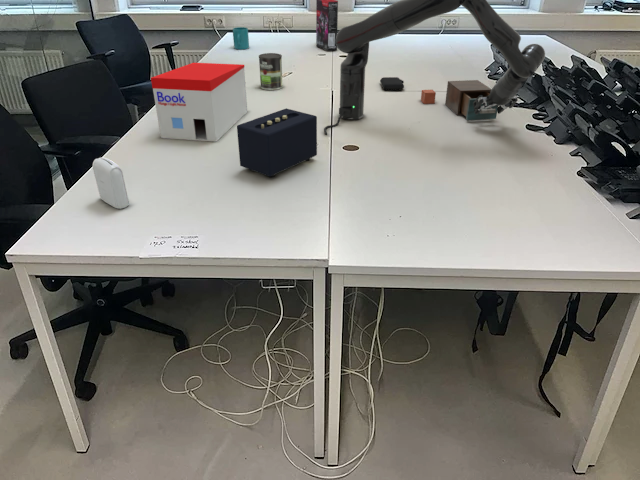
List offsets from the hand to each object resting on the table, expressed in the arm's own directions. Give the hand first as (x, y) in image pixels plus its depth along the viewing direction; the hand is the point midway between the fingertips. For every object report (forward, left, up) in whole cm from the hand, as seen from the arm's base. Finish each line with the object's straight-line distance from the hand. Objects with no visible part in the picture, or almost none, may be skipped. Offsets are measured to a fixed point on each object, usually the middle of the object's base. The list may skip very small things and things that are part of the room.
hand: (487, 111), depth 194 cm
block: (+27, +20, -5) cm, 34 cm away
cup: (+125, +127, -5) cm, 178 cm away
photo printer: (-78, +107, -5) cm, 133 cm away
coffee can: (+42, +90, -5) cm, 100 cm away
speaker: (-47, +68, -5) cm, 83 cm away
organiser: (+19, +5, -5) cm, 20 cm away
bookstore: (-12, +103, -5) cm, 104 cm away
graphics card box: (+131, +76, -5) cm, 152 cm away
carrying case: (+49, +35, -5) cm, 61 cm away
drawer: (+8, +2, -4) cm, 9 cm away
